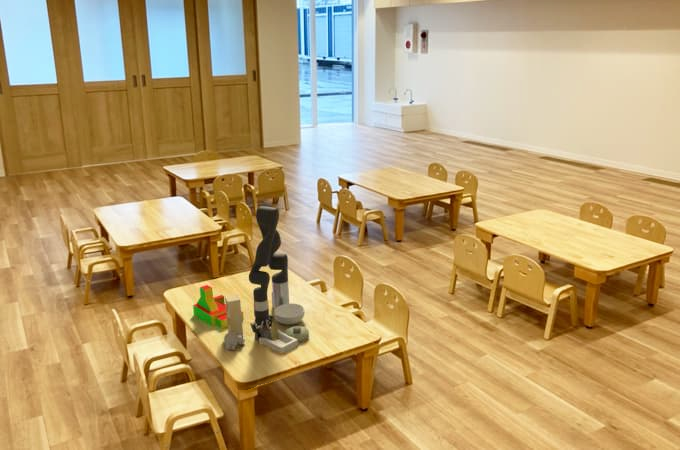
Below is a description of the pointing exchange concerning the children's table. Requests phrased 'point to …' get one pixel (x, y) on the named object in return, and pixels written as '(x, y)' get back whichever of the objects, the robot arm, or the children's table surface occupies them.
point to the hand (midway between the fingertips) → (263, 336)
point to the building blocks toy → (211, 308)
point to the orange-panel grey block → (265, 333)
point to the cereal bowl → (289, 313)
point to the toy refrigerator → (234, 314)
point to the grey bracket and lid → (287, 339)
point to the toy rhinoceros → (232, 340)
